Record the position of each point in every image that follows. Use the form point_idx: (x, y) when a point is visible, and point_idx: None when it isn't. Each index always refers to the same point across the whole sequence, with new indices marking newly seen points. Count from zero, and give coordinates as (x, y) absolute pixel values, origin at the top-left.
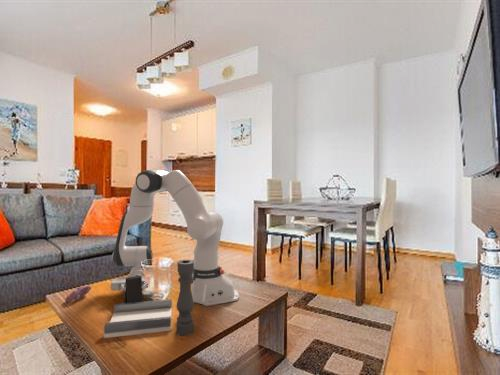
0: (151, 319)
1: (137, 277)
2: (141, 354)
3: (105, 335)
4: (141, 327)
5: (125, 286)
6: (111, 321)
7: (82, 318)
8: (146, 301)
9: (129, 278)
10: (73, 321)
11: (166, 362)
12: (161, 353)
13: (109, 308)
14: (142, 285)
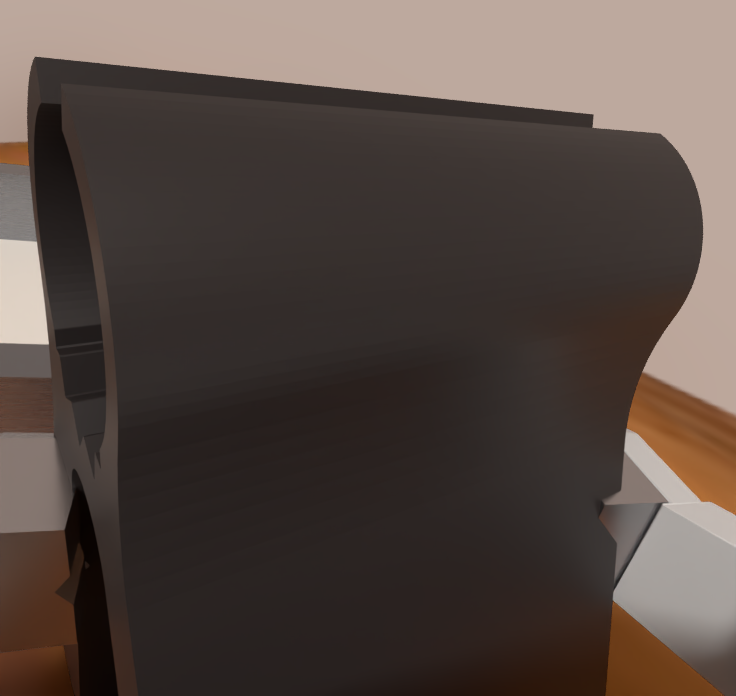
0: (28, 169)
1: (241, 96)
2: None
3: None
4: None
5: (617, 483)
6: None
7: (707, 457)
8: (9, 374)
9: (516, 112)
10: (725, 426)
11: (12, 143)
12: (20, 163)
13: (642, 649)
14: (15, 499)
